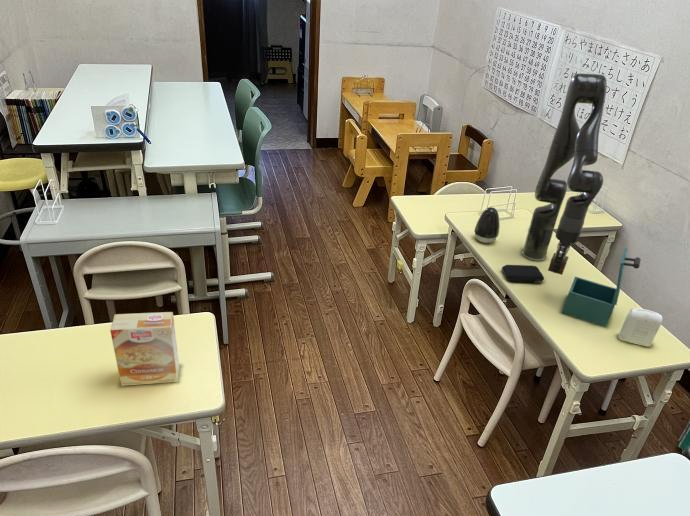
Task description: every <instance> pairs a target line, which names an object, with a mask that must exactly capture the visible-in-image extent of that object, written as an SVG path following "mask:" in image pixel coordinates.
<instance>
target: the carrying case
mask: <svg viewBox="0 0 690 516" xmlns="http://www.w3.org/2000/svg"><path fill="white" fill-rule="evenodd" d="M501 271H502V272H503V275H504V277H505V278H506V280H507V281H509V282H516V283H534V284H538V283H541V282H544V280H545V277H544V274H543V273H542V272H541V270H540V268H539V267H538V266H536V265H528V264H527V265H526V264H505V265H503V266H502V267H501Z"/></svg>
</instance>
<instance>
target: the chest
mask: <svg viewBox="0 0 690 516" xmlns="http://www.w3.org/2000/svg"><path fill="white" fill-rule="evenodd" d="M616 288H617V287H616ZM616 288H615V287H612V286H609V285H605V284H602V283H598V282H595V281H592V280H588V279H585V278H582V277H579V276H574V278H573V280H572V283H571V286H570V289H569V290H568V294H567V297H566V300H565V303H564V306H563V308H562V312H561V313H562V314H564V315H566V316H570V317H573V318H576V319H579V320H582V321H584V322H585V321H586V322H589V323H591V324H593V325H594V324H595V325H598V326H601V327H603V328H607V326H608V323H609V321H610V320H611V319H610V318H611V316H612V314H613V311H614V308H615V306H616V305H614V300H615V294H616Z"/></svg>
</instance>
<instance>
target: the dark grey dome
mask: <svg viewBox="0 0 690 516" xmlns="http://www.w3.org/2000/svg"><path fill="white" fill-rule="evenodd" d="M500 223H501V222H500V215H499V212H498V210H497V209H496V208H495V207H491V206H489V207H486V208H485V209H484V210H483V211H482V213H481V214H480V216H479V218H478V220H477V221H476V224H475V226H474V230H473V232H474V236H475V238H476V240H477V241H479V242H481V243H484V244H491V243H493V242H495V240H497V238H498V237H499V235H500V226H501V225H500Z"/></svg>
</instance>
